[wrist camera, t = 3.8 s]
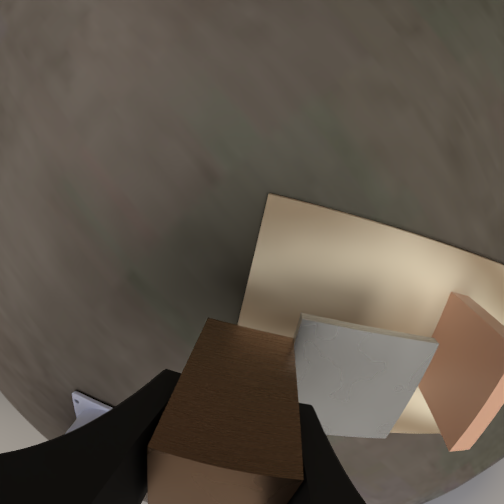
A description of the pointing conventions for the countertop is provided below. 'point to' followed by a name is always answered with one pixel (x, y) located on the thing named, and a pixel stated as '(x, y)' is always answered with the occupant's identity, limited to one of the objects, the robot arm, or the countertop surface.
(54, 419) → the countertop surface
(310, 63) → the countertop surface
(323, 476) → the robot arm
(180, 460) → the bookend
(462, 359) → the tile
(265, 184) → the countertop surface
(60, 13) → the countertop surface
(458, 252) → the board
